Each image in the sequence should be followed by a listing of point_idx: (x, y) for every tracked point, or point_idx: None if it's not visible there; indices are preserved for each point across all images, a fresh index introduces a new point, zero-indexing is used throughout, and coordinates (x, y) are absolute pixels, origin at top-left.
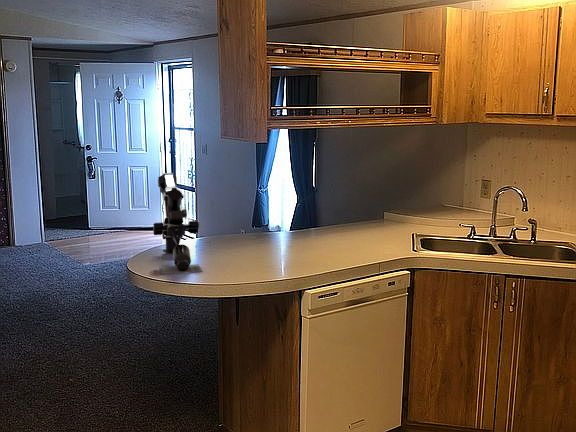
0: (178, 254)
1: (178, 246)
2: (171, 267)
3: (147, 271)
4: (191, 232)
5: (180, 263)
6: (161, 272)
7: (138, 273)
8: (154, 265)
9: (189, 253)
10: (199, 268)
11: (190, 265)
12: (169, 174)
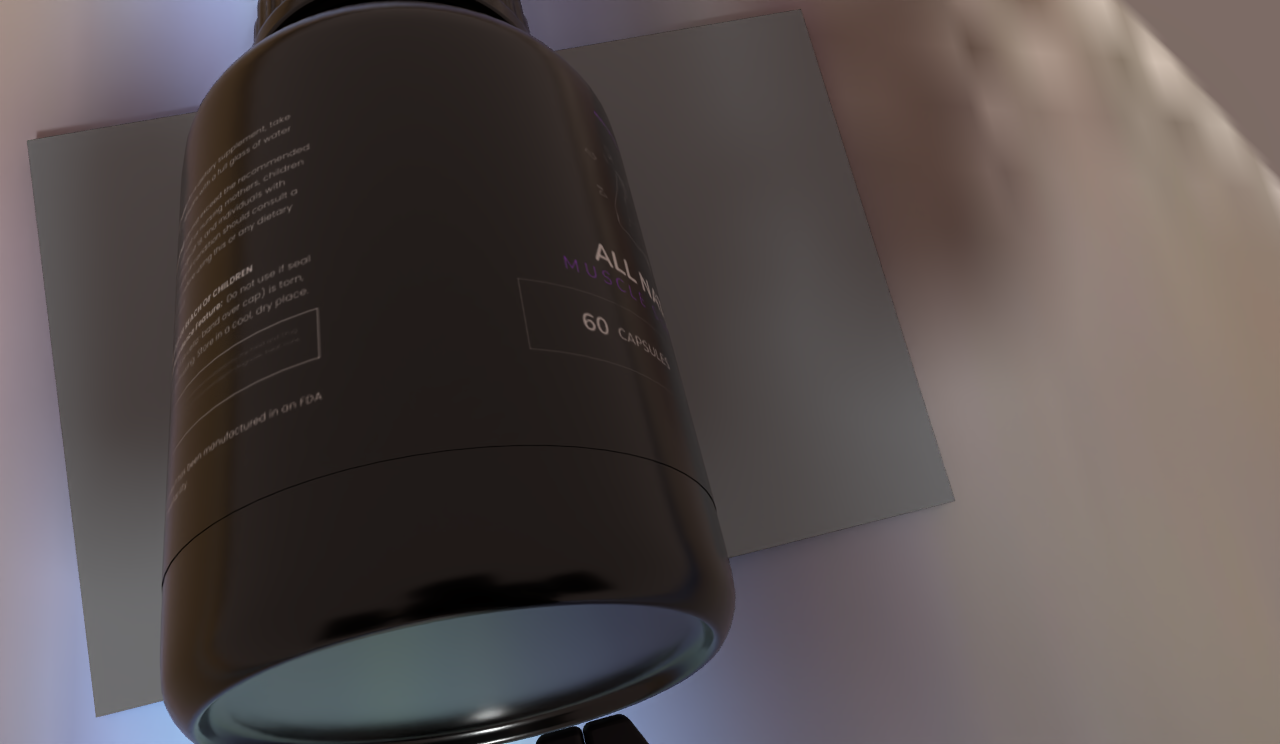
0: (492, 52)
1: (531, 437)
2: None
3: (1098, 235)
4: None
5: None
6: (819, 89)
7: (1210, 117)
8: (1096, 698)
9: (174, 339)
10: (77, 329)
11: None
12: None
